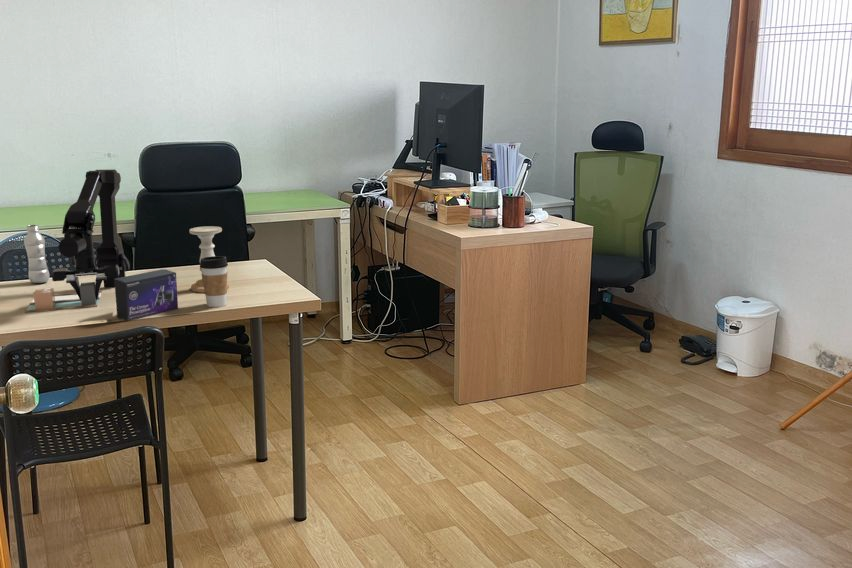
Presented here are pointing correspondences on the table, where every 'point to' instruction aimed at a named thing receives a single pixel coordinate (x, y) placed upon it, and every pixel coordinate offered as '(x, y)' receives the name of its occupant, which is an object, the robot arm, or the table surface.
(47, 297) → the cube
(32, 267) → the plastic bottle
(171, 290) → the box
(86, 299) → the strip
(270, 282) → the table surface
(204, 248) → the candle holder
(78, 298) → the strip
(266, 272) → the table surface
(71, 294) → the lane rails
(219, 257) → the coffee cup
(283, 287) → the table surface
